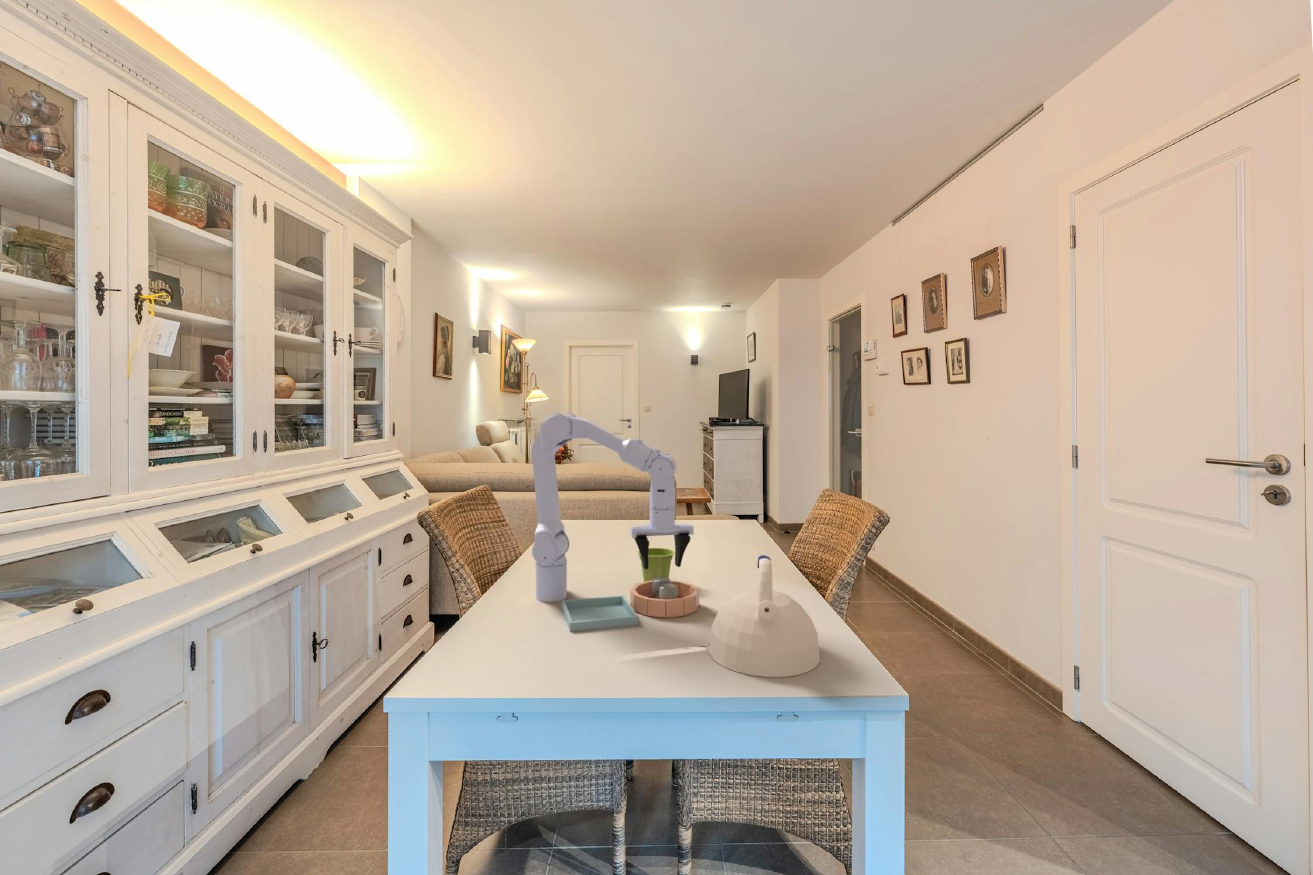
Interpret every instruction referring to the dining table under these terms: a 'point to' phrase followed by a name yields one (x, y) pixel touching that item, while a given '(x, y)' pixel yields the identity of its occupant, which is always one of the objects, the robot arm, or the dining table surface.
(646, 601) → the terracotta bowl
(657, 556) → the plant pot
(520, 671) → the dining table surface
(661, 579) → the charcoal pebble
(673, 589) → the slate pebble
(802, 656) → the kettle
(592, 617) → the parts tray
